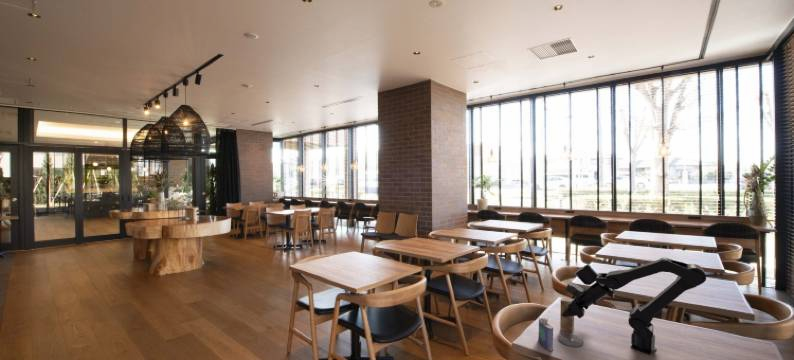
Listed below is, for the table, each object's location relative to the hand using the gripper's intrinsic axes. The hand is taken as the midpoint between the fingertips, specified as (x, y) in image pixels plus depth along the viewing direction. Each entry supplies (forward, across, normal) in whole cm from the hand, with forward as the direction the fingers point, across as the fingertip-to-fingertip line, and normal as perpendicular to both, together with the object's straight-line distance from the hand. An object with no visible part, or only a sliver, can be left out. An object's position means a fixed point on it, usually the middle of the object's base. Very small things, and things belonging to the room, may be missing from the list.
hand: (563, 313), depth 149 cm
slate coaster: (+2, +10, +8) cm, 12 cm away
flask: (+7, +18, +3) cm, 20 cm away
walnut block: (+4, 0, +6) cm, 7 cm away
